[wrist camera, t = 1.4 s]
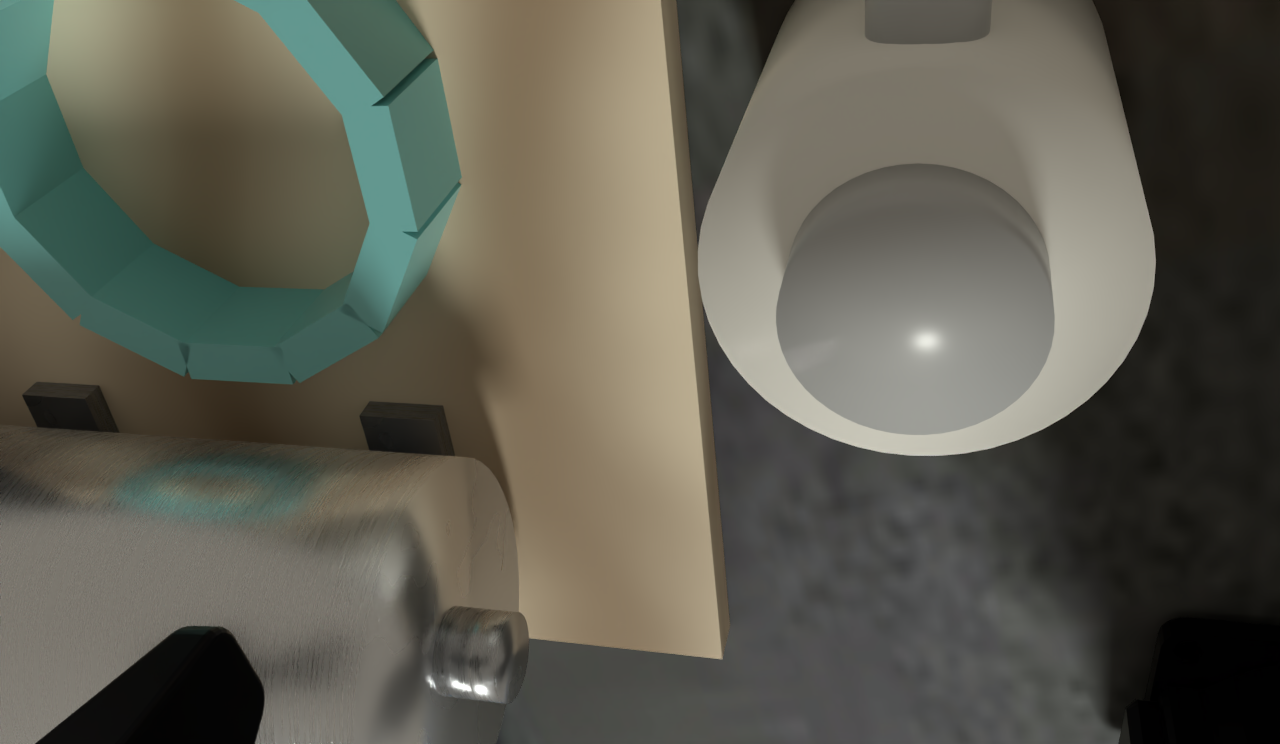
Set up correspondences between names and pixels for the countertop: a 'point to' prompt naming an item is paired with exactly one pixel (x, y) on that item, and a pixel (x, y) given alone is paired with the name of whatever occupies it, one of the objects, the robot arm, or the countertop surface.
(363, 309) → the ring
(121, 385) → the mount board
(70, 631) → the cylinder
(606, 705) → the countertop surface
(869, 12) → the white capped canister
